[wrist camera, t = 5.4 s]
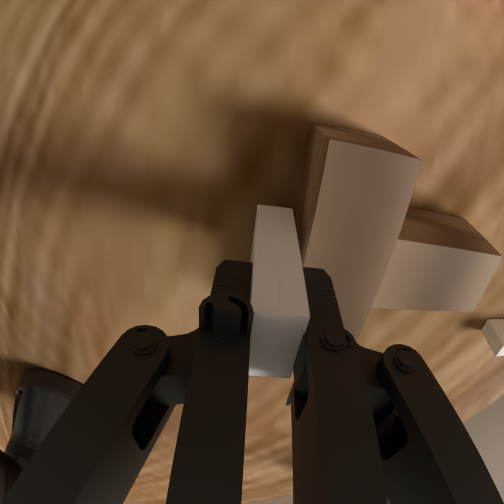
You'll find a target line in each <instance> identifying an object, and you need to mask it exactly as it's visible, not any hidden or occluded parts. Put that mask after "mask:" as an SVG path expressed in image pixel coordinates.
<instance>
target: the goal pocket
mask: <svg viewBox="0 0 504 504" xmlns="http://www.w3.org/2000/svg"><path fill="white" fill-rule="evenodd" d="M481 331H482V333H483V335H484V337H485V338H486V340H487V342H488V344H489V345H490V347H491V349H492V351H493V353H494V354H495V356H503V355H504V319H488V320H487V321H486V323H485V325H484V326H483V328H482V329H481Z"/></svg>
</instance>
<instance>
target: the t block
mask: <svg viewBox="0 0 504 504" xmlns="http://www.w3.org/2000/svg"><path fill="white" fill-rule="evenodd" d="M421 161H422V160H421V159H419V158H418V157H416V156H414V155H413V154H411V153H410V152H408V151H406V150H405V149H403V148H402V147H400V146H398V145H397V144H395V143H393V142H392V141H390V140H388V139H386V138H385V137H382V136H378V135H373V134H369V133H365V132H360V131H355V130H351V129H346V128H341V127H336V126H330V125H325V124H319V123H313V122H312V125H311V131H310V137H309V143H308V149H307V155H306V161H305V167H304V173H303V179H302V184H301V190H300V196H299V201H298V207H297V212H296V217H295V226H296V232H297V238H298V243H299V249H300V255H301V261H302V267H309V268H319V269H324V270H325V271H326V273H327V274H328V275H329V276H330V277H331V279H332V283H333V286H334V290H335V294H336V298H337V302H338V306H339V309H340V313H341V317H342V322H343V326H344V329H346V330H347V331H349V332H350V333H351V334H352V335H353V337H354V339H355V341H356V339H357V337H358V335H359V333H360V331H361V329H362V326H363V324H364V322H365V320H366V317H367V315H368V313H369V311H370V308H385V309H405V310H429V311H464V312H473V311H474V309H475V307H476V306H477V304H478V302H479V300H480V299H481V297H482V295H483V293H484V291H485V290H486V288H487V286H488V284H489V282H490V280H491V278H492V276H493V274H494V272H495V270H496V268H497V266H498V264H499V262H500V260H501V258H502V256H501V255H500V254H499V252H498V251H497V250H496V249H495V248H494V247H493V246H492V245H491V244H490V243H489V242H488V241H487V240H486V239H485V238H484V237H483V236H482V235H481V234H480V233H479V232H478V231H477V230H476V229H475V228H474V227H473V226H472V225H471V224H470V223H469V222H468V221H466V220H465V219H463V218H458V217H454V216H449V215H445V214H440V213H436V212H431V211H426V210H422V209H417V208H412V207H408V206H409V203H410V200H411V197H412V193H413V190H414V186H415V183H416V179H417V176H418V172H419V168H420V165H421Z"/></svg>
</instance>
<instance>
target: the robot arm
mask: <svg viewBox="0 0 504 504" xmlns="http://www.w3.org/2000/svg"><path fill="white" fill-rule="evenodd" d="M292 371H293V373H294V383H293V385H292V388H291V391H290V393H289V396H288V399H287V403H286V405H290V403H291V417H292V451H293V504H388V500H389V503H390V504H504V503H503V501H502V498H501V496H500V494H499V492H498V490H497V488H496V486H495V484H494V482H493V480H492V478H491V476H490V473H489V472H488V470H487V468H486V466H485V464H484V462H483V460H482V458H481V456H480V454H479V452H478V450H477V448H476V447H475V445H474V443H473V441H472V439H471V437H470V436H469V434H468V432H467V430H466V429H465V427H464V425H463V423H462V422H461V420H460V418H459V416H458V415H457V413H456V411H455V410H454V408H453V406H452V405H451V403H450V401H449V400H448V398H447V396H446V395H445V393H444V391H443V390H442V388H441V386H440V385H439V383H438V382H437V380H436V378H435V377H434V375H433V374H432V372H431V371H430V369H429V367H428V366H427V364H426V363H425V361H424V360H423V358H422V357H421V356H420V355H419V353H418V352H417V351H416V350H414V349H412V348H411V347H409V346H406V345H402V344H394V345H392V346H390V347H388V348H387V349H386V350H385V352H384V353H381V352H377V351H374V350H370V349H367V348H364V347H362V346H360V345H358V344H357V343H356V341H355V339H354V337H353V335H352V334H351V333H350V332H349V331H347V330H346V329H344V326H343V322H342V317H341V313H340V309H339V306H338V302H337V298H336V294H335V290H334V286H333V283H332V279H331V277H330V276H329V275H328V274H327V273H326V271H325V270H324V269H319V268H309V267H302V261H301V255H300V249H299V243H298V238H297V232H296V226H295V221H294V215H293V210H292V208H284V207H276V206H267V205H258V204H257V212H256V221H255V229H254V238H253V246H252V255H251V262H242V261H232V260H224V261H223V262H222V263H221V264H220V265H219V266H218V267H217V268H216V273H215V277H214V282H213V287H212V290H211V295H210V296H208V297H207V298H205V299H204V300H203V301H202V302H201V304H200V306H199V328H197V329H196V330H195V331H192V332H190V333H188V334H183V335H176V336H167V335H166V334H165V333H164V331H162V330H160V329H159V328H157V327H154V326H149V325H141V326H135V327H133V328H131V329H128V330H127V331H126V332H125V333H124V334H122V335H121V337H120V338H119V339H118V341H117V342H116V343H115V344H114V346H113V347H112V348H111V349H110V351H109V352H108V353H107V355H106V356H105V357H104V358H103V360H102V361H101V362H100V364H99V365H98V366H97V368H96V369H95V370H94V371H93V373H92V374H91V375H90V377H89V378H88V379H87V381H86V382H85V383H84V385H81V384H79V383H77V382H75V381H73V380H70V379H68V378H66V377H63V376H61V375H58V374H56V373H53V372H49V371H46V370H41V369H29V370H27V371H25V372H24V374H23V376H22V378H21V380H20V382H19V383H18V385H17V389H16V398H15V404H14V413H13V423H12V433H11V437H10V440H9V442H8V444H7V447H6V450H5V452H2V451H1V450H0V504H123V502H124V500H125V499H126V497H127V495H128V493H129V491H130V489H131V487H132V486H133V484H134V482H135V480H136V478H137V476H138V474H139V473H140V471H141V469H142V467H143V465H144V463H145V461H146V460H147V458H148V456H149V454H150V452H151V450H152V448H153V447H154V445H155V443H156V441H157V439H158V437H159V435H160V434H161V432H162V430H163V428H164V426H165V424H166V422H167V421H168V419H169V417H170V415H171V413H172V411H173V409H174V407H175V406H176V405H177V404H184V406H183V411H182V416H181V421H180V427H179V432H178V437H177V443H176V448H175V453H174V459H173V465H172V470H171V476H170V482H169V488H168V494H167V500H166V504H241V498H242V481H243V464H244V447H245V430H246V412H247V394H248V377H249V375H253V376H265V377H280V378H290V377H291V374H292ZM387 498H388V500H387Z"/></svg>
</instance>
